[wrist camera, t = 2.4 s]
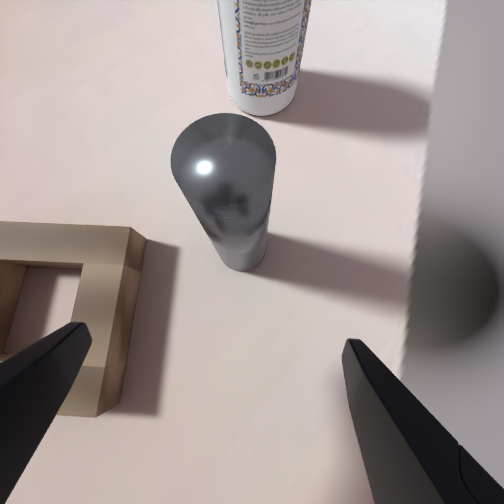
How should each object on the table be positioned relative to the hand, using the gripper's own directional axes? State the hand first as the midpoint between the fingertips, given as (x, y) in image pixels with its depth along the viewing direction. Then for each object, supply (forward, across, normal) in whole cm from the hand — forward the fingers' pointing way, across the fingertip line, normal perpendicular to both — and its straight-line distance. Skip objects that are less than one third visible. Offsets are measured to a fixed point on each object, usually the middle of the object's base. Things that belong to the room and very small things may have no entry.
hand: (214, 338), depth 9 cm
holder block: (+9, +15, +8) cm, 19 cm away
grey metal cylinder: (+13, 0, +4) cm, 14 cm away
